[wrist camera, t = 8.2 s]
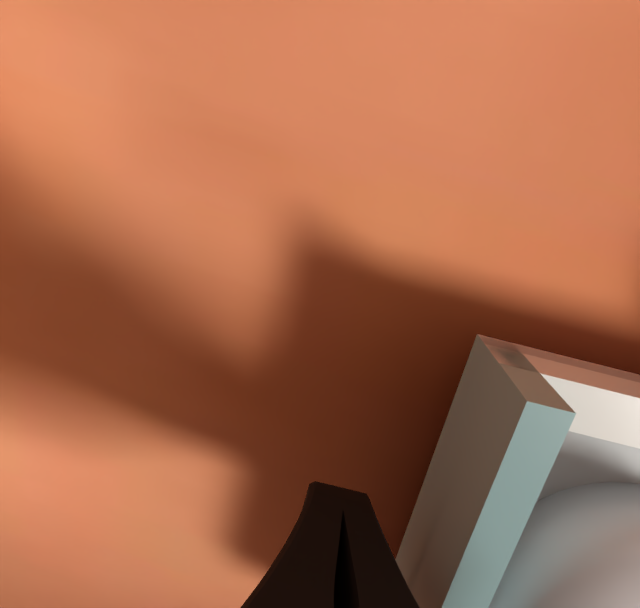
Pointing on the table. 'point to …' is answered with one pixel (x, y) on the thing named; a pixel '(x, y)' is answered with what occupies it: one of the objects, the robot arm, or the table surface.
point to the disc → (577, 551)
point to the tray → (512, 463)
